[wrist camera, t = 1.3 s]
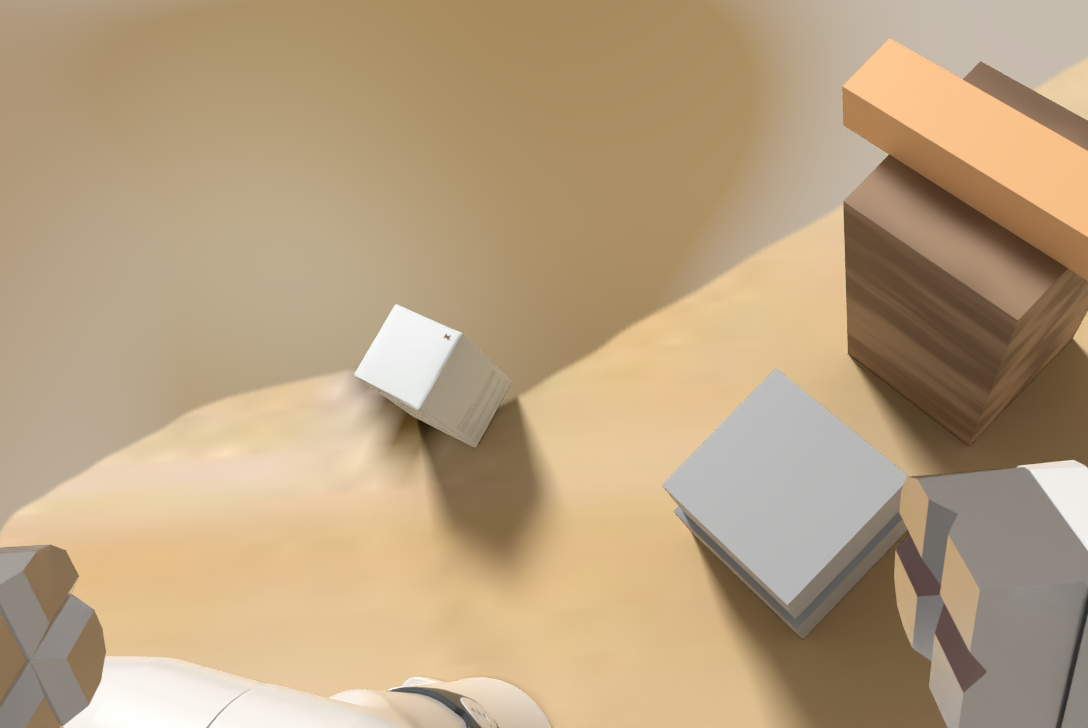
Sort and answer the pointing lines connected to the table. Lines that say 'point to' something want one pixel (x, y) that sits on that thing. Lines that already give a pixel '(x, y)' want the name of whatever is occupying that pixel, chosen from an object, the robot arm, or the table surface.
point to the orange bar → (975, 149)
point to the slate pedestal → (790, 501)
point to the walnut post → (955, 285)
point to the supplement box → (434, 375)
